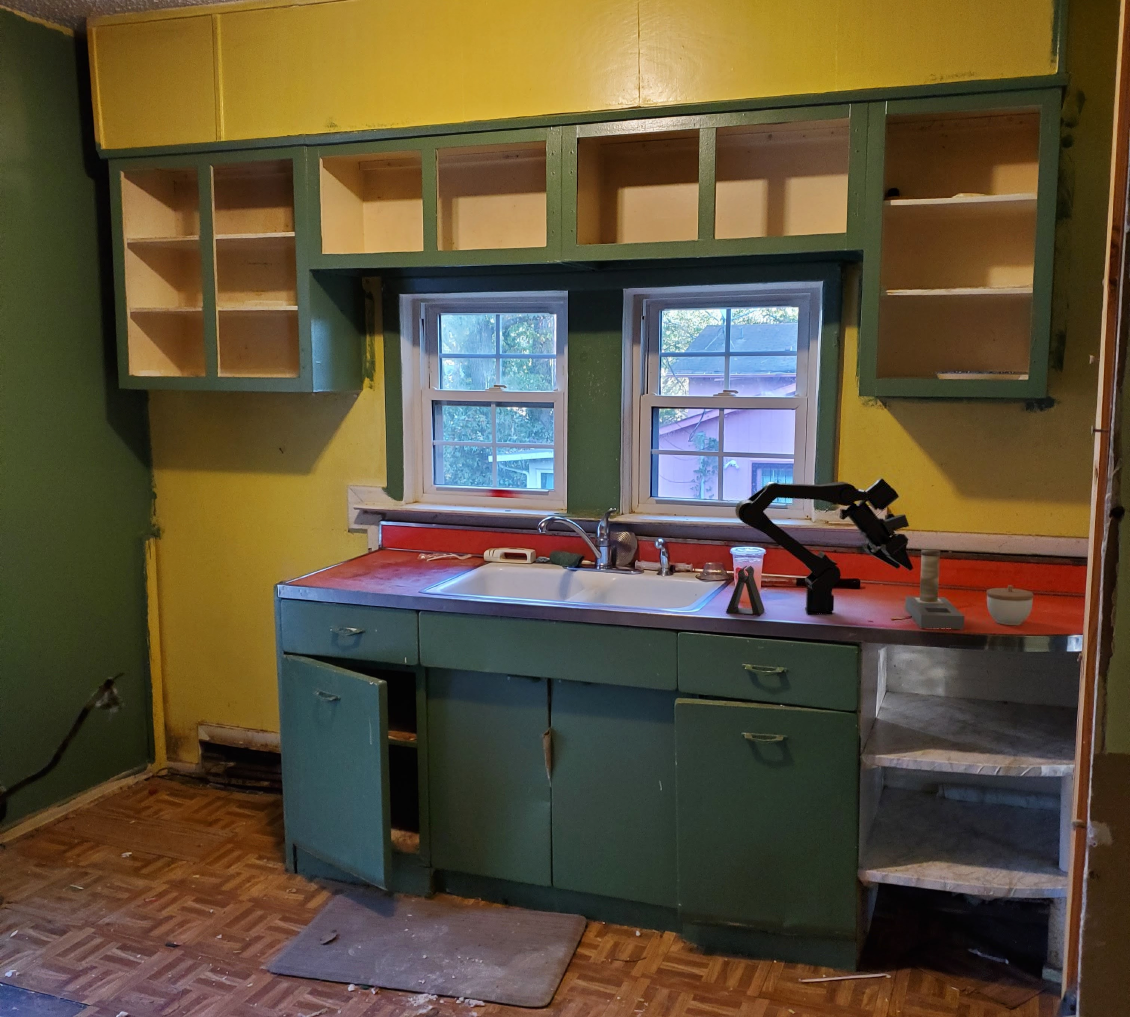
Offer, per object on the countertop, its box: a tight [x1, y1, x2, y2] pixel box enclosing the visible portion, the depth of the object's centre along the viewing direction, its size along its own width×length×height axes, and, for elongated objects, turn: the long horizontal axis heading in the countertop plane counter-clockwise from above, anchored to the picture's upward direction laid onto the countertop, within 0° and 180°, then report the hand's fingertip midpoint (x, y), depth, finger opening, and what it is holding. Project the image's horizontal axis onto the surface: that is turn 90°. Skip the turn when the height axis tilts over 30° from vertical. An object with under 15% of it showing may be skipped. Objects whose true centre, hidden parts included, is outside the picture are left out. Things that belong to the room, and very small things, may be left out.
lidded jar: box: [986, 584, 1034, 626], centre depth 262 cm, size 11×11×9 cm
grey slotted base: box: [904, 596, 965, 630], centre depth 266 cm, size 10×22×4 cm, turn 172°
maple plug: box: [919, 548, 941, 602], centre depth 271 cm, size 5×5×13 cm
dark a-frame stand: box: [725, 565, 766, 617], centre depth 275 cm, size 9×6×12 cm, turn 67°
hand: (905, 568), depth 272 cm, fingers open, 9 cm apart
